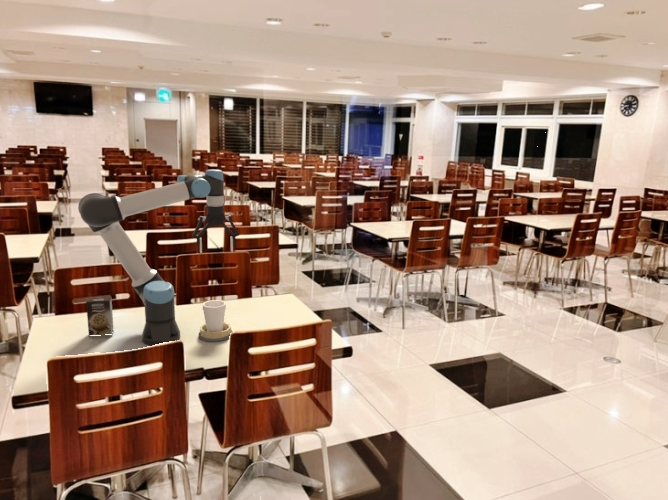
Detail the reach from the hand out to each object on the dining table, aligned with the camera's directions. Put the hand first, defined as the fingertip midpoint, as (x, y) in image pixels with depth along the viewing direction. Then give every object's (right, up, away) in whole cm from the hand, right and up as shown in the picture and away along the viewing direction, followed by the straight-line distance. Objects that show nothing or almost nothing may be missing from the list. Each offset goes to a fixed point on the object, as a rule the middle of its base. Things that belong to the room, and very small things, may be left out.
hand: (216, 252), depth 233 cm
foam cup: (+2, -34, -12) cm, 37 cm away
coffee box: (-45, -35, -15) cm, 59 cm away
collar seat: (+2, -35, -12) cm, 38 cm away
